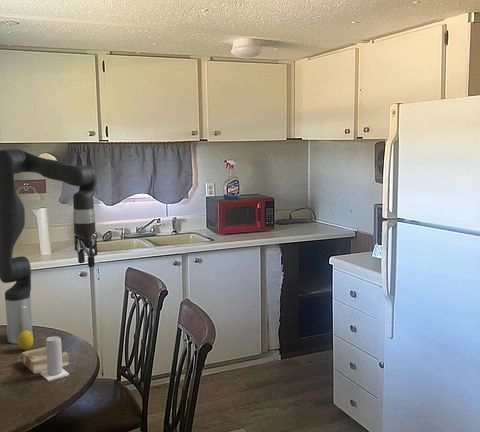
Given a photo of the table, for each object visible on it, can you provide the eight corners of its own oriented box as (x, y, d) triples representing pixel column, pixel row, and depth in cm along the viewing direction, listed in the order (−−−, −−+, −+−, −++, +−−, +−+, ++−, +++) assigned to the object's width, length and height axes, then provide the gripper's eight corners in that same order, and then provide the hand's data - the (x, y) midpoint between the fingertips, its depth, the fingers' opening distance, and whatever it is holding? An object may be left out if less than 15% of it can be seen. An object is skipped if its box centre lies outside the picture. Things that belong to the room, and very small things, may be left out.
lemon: (15, 351, 203) (13, 331, 202) (26, 346, 208) (24, 326, 207) (26, 354, 201) (25, 333, 200) (37, 348, 206) (36, 328, 205)
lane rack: (22, 363, 193) (22, 352, 192) (56, 354, 200) (55, 344, 200) (34, 373, 184) (33, 362, 183) (68, 364, 191) (68, 353, 191)
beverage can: (58, 376, 180) (56, 341, 179) (44, 375, 181) (42, 340, 180) (65, 370, 185) (63, 336, 183) (52, 369, 186) (50, 335, 184)
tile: (40, 374, 183) (40, 372, 183) (60, 368, 188) (60, 367, 188) (48, 381, 178) (48, 379, 178) (68, 375, 183) (68, 373, 182)
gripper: (66, 220, 200) (68, 263, 202) (82, 224, 189) (84, 269, 191) (85, 218, 204) (87, 260, 206) (102, 222, 193) (104, 266, 196)
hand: (86, 264), depth 199 cm, fingers open, 8 cm apart
